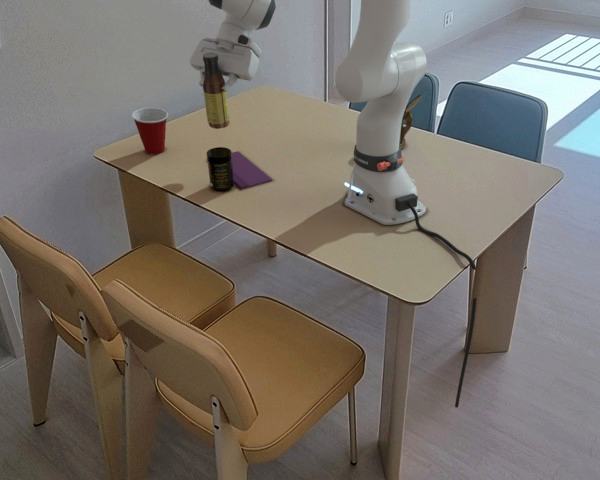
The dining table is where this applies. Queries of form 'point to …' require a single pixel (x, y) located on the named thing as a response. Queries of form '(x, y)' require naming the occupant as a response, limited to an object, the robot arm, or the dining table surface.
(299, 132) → the dining table surface
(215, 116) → the sauce bottle
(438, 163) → the dining table surface
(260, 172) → the purple flat rectangular panel
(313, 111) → the dining table surface
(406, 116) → the wooden mug
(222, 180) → the supplement container
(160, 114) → the plastic cup
